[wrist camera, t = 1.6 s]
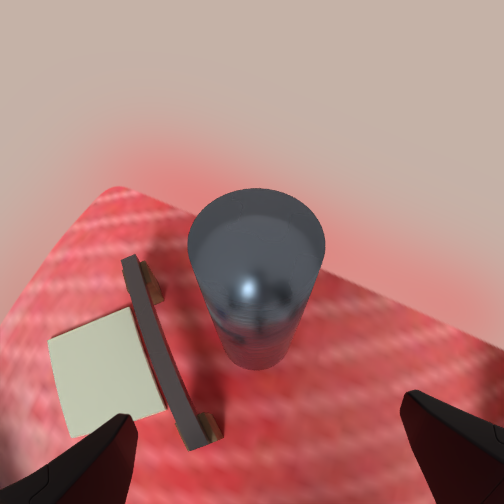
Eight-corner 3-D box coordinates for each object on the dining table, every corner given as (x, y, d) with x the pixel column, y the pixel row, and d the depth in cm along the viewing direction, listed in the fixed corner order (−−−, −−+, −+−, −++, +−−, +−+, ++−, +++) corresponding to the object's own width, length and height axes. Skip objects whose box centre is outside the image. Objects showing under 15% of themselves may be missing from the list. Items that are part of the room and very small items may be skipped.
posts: (223, 437, 18) (217, 440, 15) (198, 447, 17) (188, 451, 14) (157, 281, 25) (144, 260, 22) (137, 289, 24) (122, 270, 21)
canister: (302, 351, 21) (351, 264, 10) (239, 381, 20) (219, 327, 9) (270, 296, 24) (282, 174, 13) (211, 322, 23) (170, 215, 12)
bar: (211, 442, 15) (208, 444, 14) (193, 449, 15) (189, 451, 14) (140, 262, 22) (135, 253, 21) (126, 268, 21) (120, 260, 20)
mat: (167, 409, 19) (165, 409, 18) (74, 437, 17) (70, 437, 16) (131, 308, 23) (128, 306, 23) (50, 342, 21) (47, 340, 21)
